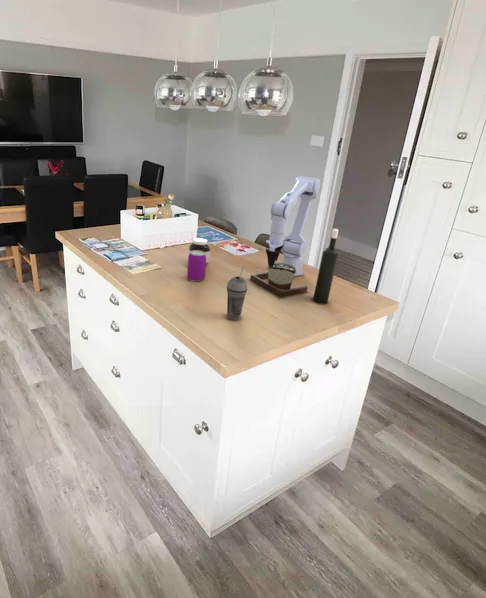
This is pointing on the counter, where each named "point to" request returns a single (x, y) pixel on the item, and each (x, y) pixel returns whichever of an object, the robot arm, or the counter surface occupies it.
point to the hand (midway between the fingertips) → (272, 263)
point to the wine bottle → (326, 271)
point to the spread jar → (200, 247)
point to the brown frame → (258, 280)
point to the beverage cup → (236, 296)
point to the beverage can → (196, 265)
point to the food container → (281, 275)
